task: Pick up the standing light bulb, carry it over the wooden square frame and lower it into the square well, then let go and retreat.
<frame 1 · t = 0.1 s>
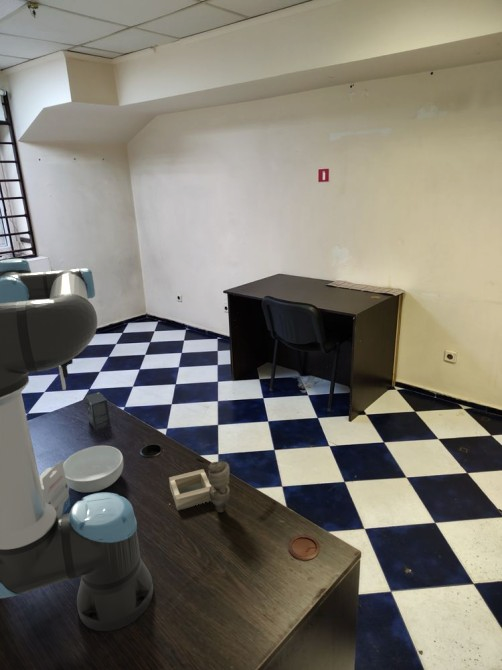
hand: (38, 392, 123), 28 cm above the table, fingers open, 13 cm apart
ink box: (54, 515, 117), on the table
box: (99, 424, 162), on the table
cereal bowl: (96, 482, 130), on the table
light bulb: (221, 512, 117), on the table
wooden square frame: (191, 494, 124), on the table
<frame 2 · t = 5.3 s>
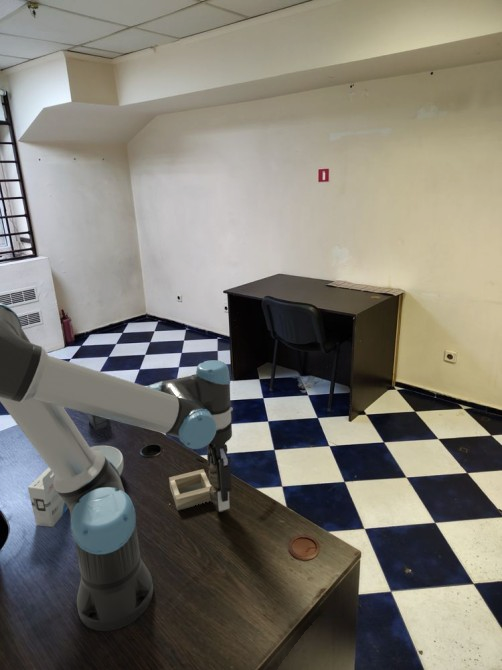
hand: (220, 501, 116), 3 cm above the table, fingers closed on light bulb, 5 cm apart
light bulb: (221, 512, 117), on the table, touching gripper
everything else where it was.
when the fingers open (5 cm above the table, at t = 10.1 s): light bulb stays where it is, resting on wooden square frame.
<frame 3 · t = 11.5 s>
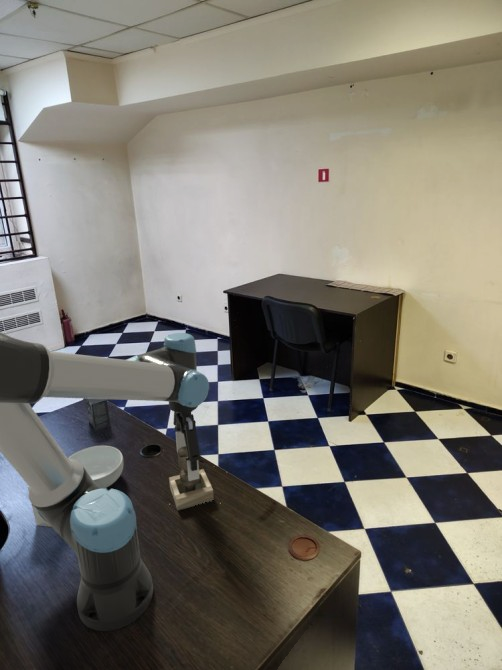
hand: (187, 464, 120), 10 cm above the table, fingers open, 13 cm apart
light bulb: (191, 494, 123), resting on wooden square frame
everything else where it was.
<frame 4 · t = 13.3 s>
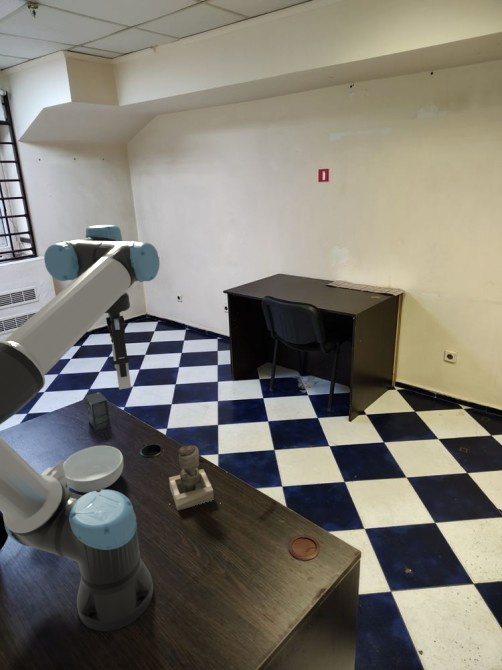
hand: (122, 377, 111), 37 cm above the table, fingers open, 13 cm apart
nothing on the table moved.
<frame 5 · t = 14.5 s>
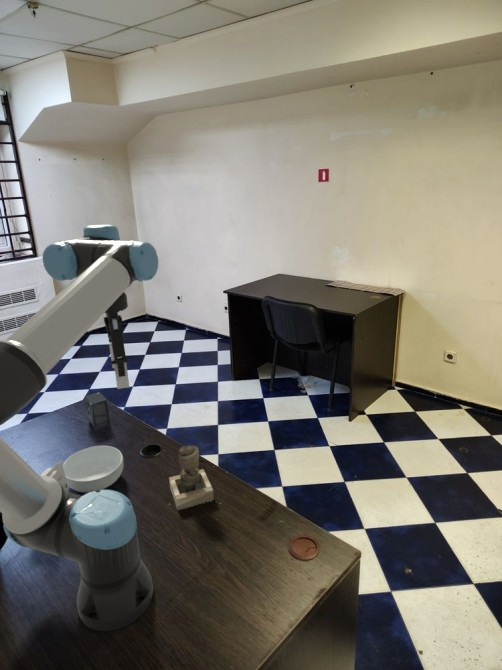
hand: (120, 376, 111), 37 cm above the table, fingers open, 13 cm apart
nothing on the table moved.
at the end: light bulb 0.5 cm from the wooden square frame (horizontally); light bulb tilted 0°; the gripper is holding nothing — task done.
